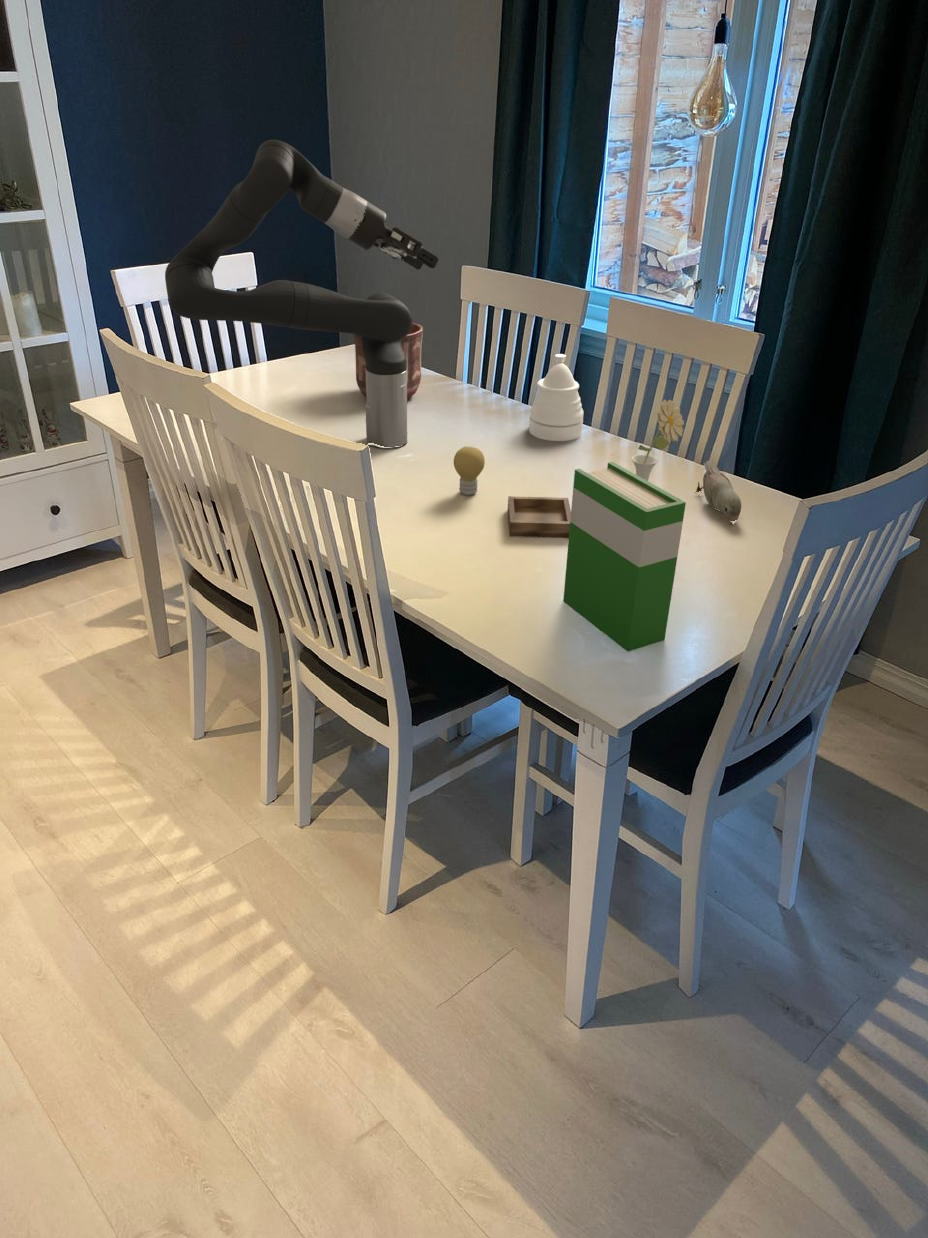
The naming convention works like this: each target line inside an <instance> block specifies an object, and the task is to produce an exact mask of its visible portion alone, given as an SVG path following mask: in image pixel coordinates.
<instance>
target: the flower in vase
mask: <svg viewBox="0 0 928 1238" xmlns="http://www.w3.org/2000/svg"><path fill="white" fill-rule="evenodd" d="M656 415H657V423H658V430H657V432H656V434H654V435H655V436H654V438H653V440H652V442H651V445H650V447H646V446H645V445H642V444H639V446H638V448H637V449H638V451H639V450H640V451H643V452H647V453H646V454H635V455H633V456H632V457H631V461H632V463H633V465H634V468H635V474H636V475H637V476H639V477H641V478H643V479H645V480H646V481H648V482H649V479H650V475H651V473H652V470H653V468H654V467H655V465H657V464H658V462H659V459H658V458H657V457H655V456H653V455H650V453H651V451H653V446H654V445H655V447H657V449H659V450H660V451H663V450H665V449H666V448H667V447H668V446H669V445H670V442H671V441H672V442H678V441H679V437H682V436H683V432H684V428H683V426H684V425H685V421H684V420H683V415H682V414H681V408H680V407H676V404H675V402H674V400H673V401H672V400H671V399H669V400H668V401H667V400H666V399H663V401H662V402H661V403H660V406H658V407H657V412H656ZM660 432H661V435H659V433H660ZM658 435H659V436H658Z"/></svg>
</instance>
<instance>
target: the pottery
mask: <svg viewBox="0 0 928 1238" xmlns="http://www.w3.org/2000/svg"><path fill="white" fill-rule="evenodd" d="M423 334H424V327H423V326H422V325H421V324H419V323H416V322H413V324H412V328H411V330H410V332H409V334H408V335H407V336H406V337H404V338H403V339H401V346H402V349H403V352H404V354H405V356H406V360H407V401H408V400H410V399H411V398H412V397H413V396H414V395H415V394H416V392H417V391H418V389H419V387H420V383H421V380H422V344H423V336H424V335H423ZM353 340H354V341H353V342H354V347H355V348H354V350H355V351H354V352H355V356H354V357H355V380H356V384H357V387H358V389H359V391H360V394H362V395H363V396H364V397H365V398H366V399H367V397H366V365H365V359H364V356H363V352H362V341H361V336H360V335H356V334H353Z"/></svg>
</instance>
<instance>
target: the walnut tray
mask: <svg viewBox="0 0 928 1238" xmlns="http://www.w3.org/2000/svg"><path fill="white" fill-rule="evenodd" d="M570 505H571V504H570V499H569V497H550V496H549V497H547V496H508V498H507V517H508V518H507V521H508V531H509V532H508V533H509V535H508V536H509V537H512V538H513V537H518V538H519V537H521V538H551V539H552V538H555V539H556V538H557V539H560V538H561V539H569V530H570V519H571V506H570Z"/></svg>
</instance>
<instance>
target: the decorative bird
mask: <svg viewBox="0 0 928 1238" xmlns="http://www.w3.org/2000/svg"><path fill="white" fill-rule="evenodd" d="M703 466H704V470H705V472H704V474H703V477H702V485H701V487H700V482H699V481H698V483H697V487H696V491H695V493H696V492H697V493H698V492H699V491H700V492H701V491H703V494H704V497H705V499H706V500H705V501H706V502H707V504H708V505H709V506H710V507H711V508H712V507H713V508H712V509H714V508H716V509H718V510H720V511H722V512H724V513H723V514H725V515H726V518H727V519H729V520H730V521H735V520H737V521H738V520H739V517H740V514H741V511H742V502H741V498H740V496H739V495H738V493H737V492H735V490H734V487H733V486H732V482H731V481H730V479H729V478H728V477H727V476H726V475H725V474H724V473H722V472H720V469H719V468H718V466H717V465H716V464H715V463H714V462H713V461H711V460H706V462H704V463H703ZM716 509H715V510H716ZM718 510H717V511H718ZM720 511H719V512H720ZM722 512H721V513H722ZM729 520H728V521H729ZM730 521H729V522H730Z"/></svg>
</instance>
